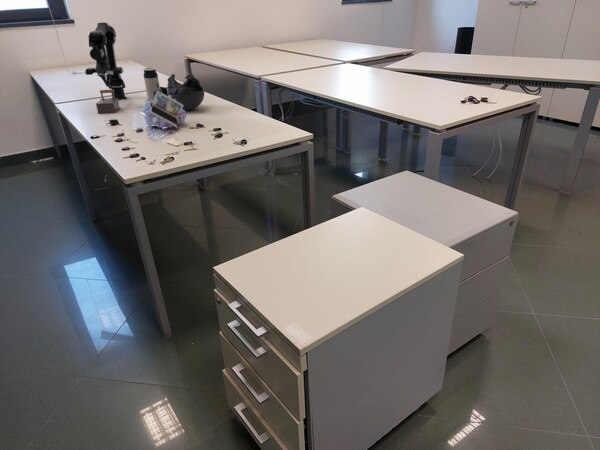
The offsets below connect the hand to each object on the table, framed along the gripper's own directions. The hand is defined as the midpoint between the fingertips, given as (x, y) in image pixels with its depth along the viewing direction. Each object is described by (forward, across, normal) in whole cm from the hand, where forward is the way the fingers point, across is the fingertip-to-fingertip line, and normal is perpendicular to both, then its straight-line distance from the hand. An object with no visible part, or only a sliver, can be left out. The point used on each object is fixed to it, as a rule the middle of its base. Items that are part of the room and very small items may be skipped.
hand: (108, 86), depth 235 cm
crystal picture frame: (+11, +35, -44) cm, 57 cm away
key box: (+11, 0, -9) cm, 14 cm away
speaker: (+11, +28, -4) cm, 31 cm away
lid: (+6, 0, -9) cm, 11 cm away
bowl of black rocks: (+11, +44, -15) cm, 47 cm away
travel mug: (+11, +22, +13) cm, 28 cm away
